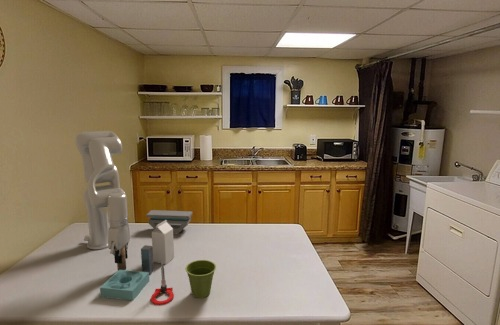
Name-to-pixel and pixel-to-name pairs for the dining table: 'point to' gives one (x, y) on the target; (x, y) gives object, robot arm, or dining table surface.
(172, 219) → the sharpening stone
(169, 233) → the milk carton
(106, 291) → the bore block
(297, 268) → the dining table surface
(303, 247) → the dining table surface
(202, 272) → the plant pot
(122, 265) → the walnut dowel
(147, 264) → the steel square bar
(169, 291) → the tow hook
